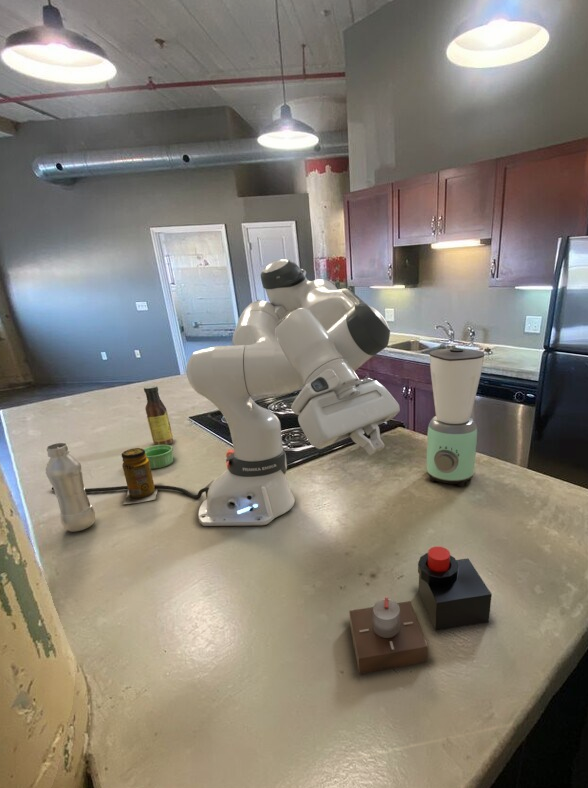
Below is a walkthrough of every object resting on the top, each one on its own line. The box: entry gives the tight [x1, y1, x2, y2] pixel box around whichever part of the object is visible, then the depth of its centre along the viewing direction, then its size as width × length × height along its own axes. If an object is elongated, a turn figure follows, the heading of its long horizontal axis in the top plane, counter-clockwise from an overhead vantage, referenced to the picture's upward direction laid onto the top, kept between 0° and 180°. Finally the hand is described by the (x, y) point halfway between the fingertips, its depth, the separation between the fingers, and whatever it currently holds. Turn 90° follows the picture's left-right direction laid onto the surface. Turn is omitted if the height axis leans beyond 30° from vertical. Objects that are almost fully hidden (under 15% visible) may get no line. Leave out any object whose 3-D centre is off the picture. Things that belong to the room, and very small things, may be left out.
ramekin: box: [143, 444, 174, 470], centre depth 126 cm, size 9×9×4 cm
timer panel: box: [348, 600, 429, 675], centre depth 63 cm, size 10×9×3 cm
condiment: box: [121, 447, 159, 505], centre depth 106 cm, size 7×8×12 cm
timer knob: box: [372, 597, 400, 638], centre depth 62 cm, size 4×4×4 cm
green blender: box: [425, 347, 486, 487], centre depth 110 cm, size 19×13×35 cm
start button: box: [427, 546, 451, 573], centre depth 69 cm, size 4×4×2 cm
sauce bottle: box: [143, 385, 174, 446], centre depth 138 cm, size 6×6×20 cm
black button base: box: [417, 552, 492, 632], centre depth 69 cm, size 10×10×8 cm
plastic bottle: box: [45, 442, 97, 532], centre depth 91 cm, size 6×7×20 cm
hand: (377, 451), depth 71 cm, fingers closed
